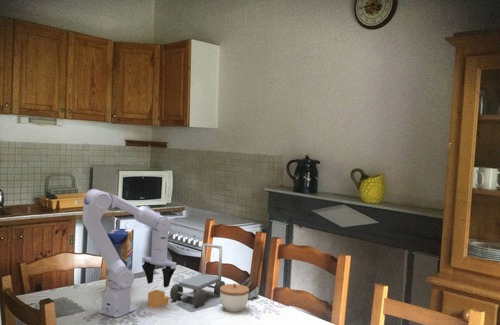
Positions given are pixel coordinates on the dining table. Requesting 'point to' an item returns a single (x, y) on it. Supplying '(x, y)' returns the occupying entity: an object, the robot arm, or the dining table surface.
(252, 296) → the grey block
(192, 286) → the trolley
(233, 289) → the lidded jar
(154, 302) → the block
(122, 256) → the juice carton
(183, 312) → the dining table surface
